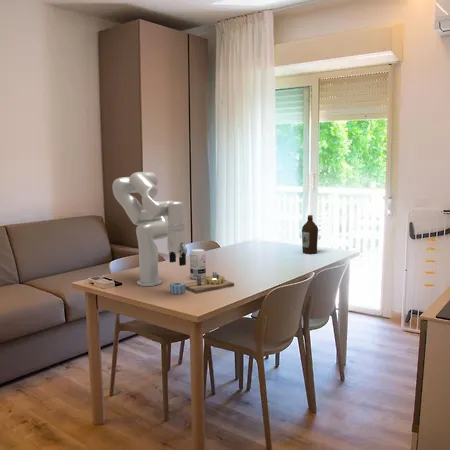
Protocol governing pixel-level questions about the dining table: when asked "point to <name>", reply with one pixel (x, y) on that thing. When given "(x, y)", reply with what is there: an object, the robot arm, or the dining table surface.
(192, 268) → the supplement can
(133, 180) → the robot arm
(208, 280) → the brass drive gear
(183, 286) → the blue gear
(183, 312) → the dining table surface
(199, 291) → the gear board
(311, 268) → the dining table surface
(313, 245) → the olive oil
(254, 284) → the dining table surface
